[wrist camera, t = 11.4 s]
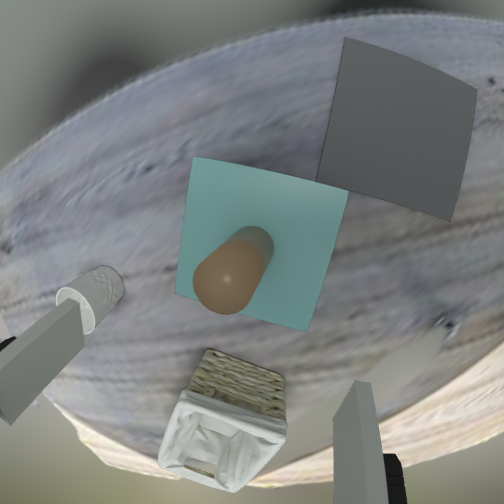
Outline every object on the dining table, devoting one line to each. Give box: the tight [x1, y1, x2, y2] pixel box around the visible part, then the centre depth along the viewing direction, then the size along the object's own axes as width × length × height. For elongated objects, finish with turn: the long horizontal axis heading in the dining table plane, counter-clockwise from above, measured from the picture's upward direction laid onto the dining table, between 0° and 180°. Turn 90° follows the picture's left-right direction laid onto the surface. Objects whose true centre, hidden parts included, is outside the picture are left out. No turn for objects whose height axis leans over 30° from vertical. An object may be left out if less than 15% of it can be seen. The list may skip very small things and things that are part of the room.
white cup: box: [56, 266, 124, 334], centre depth 43 cm, size 8×8×10 cm
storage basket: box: [158, 349, 288, 492], centre depth 45 cm, size 24×16×15 cm
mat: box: [316, 37, 477, 221], centre depth 33 cm, size 20×20×1 cm
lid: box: [175, 156, 349, 332], centre depth 24 cm, size 14×14×10 cm
